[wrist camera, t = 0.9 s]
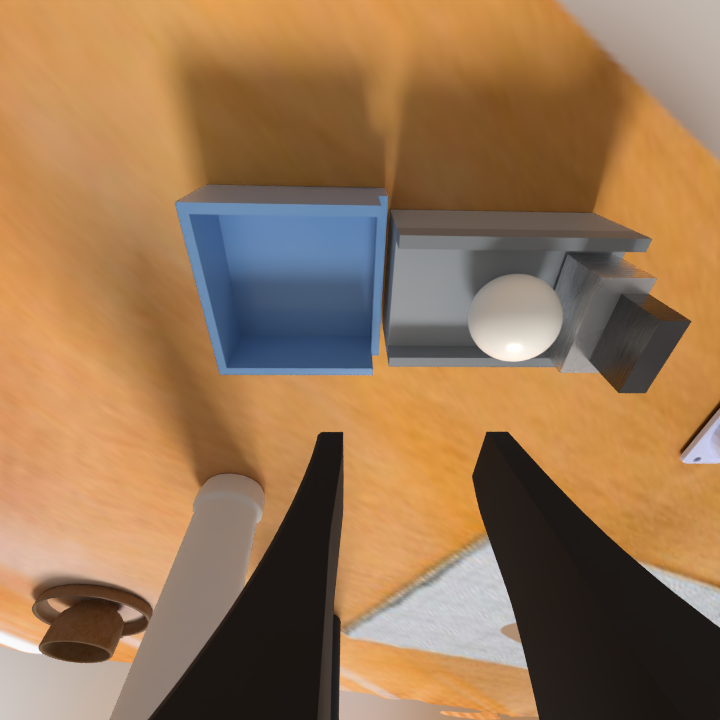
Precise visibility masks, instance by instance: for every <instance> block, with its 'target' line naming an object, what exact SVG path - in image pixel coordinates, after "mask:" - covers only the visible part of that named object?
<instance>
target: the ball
mask: <svg viewBox="0 0 720 720" xmlns="http://www.w3.org/2000/svg"><path fill="white" fill-rule="evenodd" d="M562 322H563V309H562V305H561V302H560V299H559V297H558V295H557V294H556V292H555V291H554V290H553V289H552V287H551V286H550V285H548V284H547V283H546V282H544V281H543V280H541V279H539V278H537V277H534V276H531V275H527V274H509V275H504V276H500V277H498V278H495V279H494V280H492V281H490V282H489V283H487V284H486V285H485V286H483V287H482V288H481V289H480V290H479V291H478V293H477V294H476V295H475V297H474V299H473V300H472V303H471V305H470V308H469V313H468V327H469V331H470V334H471V337H472V338H473V340H474V342H475V343H476V345H477V346H478V347H479V348H480V349H481V350H482V351H483V352H485V353H486V354H488V355H489V356H491V357H493V358H496V359H499V360H503V361H511V362H517V361H524V360H528V359H531V358H533V357H536V356H538V355H539V354H541V353H543V352H544V351H545V350H547V349H548V348H549V347H550V346H551V345H552V343H553V342H554V341H555V340H556V338H557V336H558V334H559V332H560V330H561V326H562Z"/></svg>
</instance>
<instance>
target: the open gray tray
mask: <svg viewBox="0 0 720 720" xmlns="http://www.w3.org/2000/svg"><path fill="white" fill-rule="evenodd" d="M651 240H652V239H651V238H649V237H647V236H644V235H642V234H640V233H638V232H635V231H633V230H631V229H629V228H626V227H624V226H622V225H620V224H617V223H615V222H613V221H611V220H608V219H606V218H604V217H602V216H599V215H597V214H595V213H576V212H516V211H457V210H397V209H390V218H389V233H388V249H387V264H386V279H385V294H384V309H383V330H384V337H385V344H386V350H387V357H388V364H389V367H555V366H554V364H553V363H552V362H551V360H550V359H549V358H548V357H547V355H546V354H545V353H544V352H543V353H541V354H539V355H538V356H536V357H533V358H531V359H528V360H524V361H517V362H511V361H503V360H499V359H496V358H493V357H491V356H489V355H488V354H486V353H485V352H483V351H482V350H481V349H480V348H479V347H478V346H477V345H476V343H475V342H474V340H473V338H472V337H471V334H470V331H469V327H468V313H469V308H470V305H471V303H472V300H473V299H474V297H475V295H476V294H477V293H478V291H479V290H480V289H481V288H482V287H483V286H485V285H486V284H487V283H489V282H490V281H492V280H494V279H495V278H498V277H500V276H504V275H509V274H527V275H531V276H534V277H537V278H539V279H541V280H543V281H544V282H546V283H547V284H548V285H550V286H551V287H552V289H553V290H555V288H556V285H557V282H558V279H559V277H560V274H561V271H562V269H563V266H564V263H565V260H566V258H567V255H616V256H618V257H620V258H623V256H624V254H625V252H646V251H647V249H648V247H649V245H650V243H651Z"/></svg>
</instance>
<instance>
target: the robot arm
mask: <svg viewBox="0 0 720 720" xmlns="http://www.w3.org/2000/svg"><path fill="white" fill-rule="evenodd" d="M680 459H681V460H682V461H683V462H684V463H720V408H719V410H718V411H717V412H716V413H715V414H714V416H713V417H712V418H711V419H710V421H709V422H708V423H707V424H706V425H705V427H704V428H703V429H702V430H701V431H700V433H699V434H698V435H697V436H696V437H695V439H694V440H693V441H692V442H691V444H690V445H689V446H688V447H687V448H686V450H685V451H684V452H683V453H682V454H681V456H680ZM472 478H473V483H474V488H475V493H476V497H477V502H478V506H479V510H480V514H481V517H482V520H483V522H484V525H485V528H486V531H487V534H488V537H489V540H490V543H491V546H492V549H493V551H494V554H495V557H496V560H497V563H498V566H499V569H500V571H501V574H502V577H503V580H504V583H505V586H506V589H507V592H508V595H509V598H510V601H511V604H512V608H513V611H514V615H515V618H516V622H517V626H518V630H519V634H520V638H521V642H522V646H523V650H524V654H525V658H526V662H527V667H528V671H529V675H530V680H531V684H532V688H533V692H534V697H535V701H536V706H537V711H538V715H539V720H720V628H719V627H718V626H717V625H715V624H714V623H713V622H711V621H710V620H709V619H708V618H706V617H705V616H704V615H702V614H701V613H700V612H699V611H697V610H696V609H695V608H693V607H692V606H691V605H689V604H688V603H687V602H686V601H684V600H683V599H682V598H680V597H679V596H678V595H677V594H675V593H674V592H673V591H672V590H670V589H669V588H668V587H667V586H665V585H664V584H663V583H662V582H660V581H659V580H658V579H657V578H656V577H654V576H653V575H652V574H651V573H650V572H649V571H647V570H646V569H645V568H644V567H643V566H642V565H640V564H639V563H638V562H637V561H636V560H635V559H633V558H632V557H631V556H630V555H629V554H628V553H626V552H625V551H624V550H623V549H622V548H621V547H620V546H618V545H617V544H616V543H615V542H614V541H613V540H612V539H611V538H610V537H609V536H607V535H606V534H605V533H604V532H603V531H602V530H601V529H600V528H599V527H598V526H597V525H596V524H595V523H594V522H593V521H592V520H591V519H590V518H589V517H588V516H586V515H585V514H584V513H583V512H582V511H581V510H580V509H579V508H578V507H577V506H576V505H575V504H574V503H573V502H572V500H571V499H570V498H569V497H568V496H567V495H566V494H565V493H564V492H563V491H562V490H561V489H560V488H559V487H558V486H557V485H556V484H555V483H554V482H553V481H552V480H551V479H550V478H549V476H548V475H547V474H546V473H545V472H544V471H543V470H542V469H541V468H540V467H539V466H538V465H537V463H536V462H535V461H534V460H533V459H532V458H531V457H530V456H529V455H528V454H527V452H526V451H525V450H524V449H523V448H522V447H521V446H520V445H519V444H518V443H517V441H516V440H515V439H514V438H513V437H512V436H511V435H510V434H509V433H508V432H486V436H485V439H484V442H483V445H482V448H481V451H480V454H479V457H478V460H477V463H476V466H475V469H474V472H473V475H472ZM343 479H344V475H343V432H321V433H320V434H319V435H318V437H317V441H316V445H315V448H314V451H313V454H312V457H311V460H310V463H309V465H308V468H307V470H306V473H305V475H304V478H303V480H302V482H301V484H300V487H299V489H298V491H297V493H296V495H295V498H294V500H293V502H292V504H291V506H290V508H289V510H288V512H287V514H286V516H285V518H284V520H283V522H282V524H281V525H280V527H279V529H278V531H277V533H276V535H275V537H274V539H273V540H272V542H271V544H270V546H269V548H268V549H267V551H266V553H265V554H264V556H263V558H262V560H261V561H260V563H259V564H258V566H257V568H256V569H255V571H254V573H253V574H252V576H251V578H250V579H249V581H248V582H247V584H246V585H245V587H244V588H243V590H242V591H241V593H240V595H239V596H238V598H237V599H236V601H235V602H234V604H233V605H232V607H231V608H230V610H229V611H228V613H227V614H226V616H225V617H224V619H223V620H222V622H221V623H220V624H219V626H218V627H217V629H216V630H215V631H214V633H213V634H212V636H211V637H210V638H209V640H208V641H207V642H206V644H205V645H204V647H203V648H202V649H201V651H200V652H199V653H198V655H197V656H196V658H195V659H194V660H193V662H192V663H191V664H190V666H189V667H188V668H187V670H186V671H185V673H184V674H183V675H182V677H181V678H180V679H179V681H178V682H177V683H176V684H175V686H174V687H173V688H172V690H171V691H170V692H169V693H168V695H167V696H166V697H165V699H164V700H163V701H162V702H161V704H160V705H159V706H158V707H157V709H156V710H155V711H154V712H153V714H152V715H151V716H150V717H149V719H148V720H330V716H331V676H332V639H333V610H334V595H335V586H336V576H337V566H338V557H339V547H340V537H341V528H342V518H343Z"/></svg>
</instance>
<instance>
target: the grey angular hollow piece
mask: <svg viewBox="0 0 720 720" xmlns="http://www.w3.org/2000/svg"><path fill="white" fill-rule="evenodd" d="M656 279H657V278H655V277H654V276H652V275H650V274H648V273H647V272H645V271H643V270H641V269H639V268H638V267H636V266H634V265H632V264H631V263H629V262H627V261H625V260H624V259H622V258H620V257H618V256H616V255H567V258H566V260H565V263H564V266H563V269H562V271H561V274H560V277H559V279H558V282H557V285H556V288H555V290H554V291H555V292H556V294H557V295H558V297H559V299H560V302H561V305H562V309H563V322H562V326H561V330H560V332H559V334H558V336H557V338H556V340H555V341H554V342H553V343H552V345H551V346H550V347H549V348H548V349H547V350H545V351H544V353H545V354H546V355H547V357H548V358H549V359H550V360H551V362H552V363H553V364H554V366H555V367H556V368H557V369H558V371H559V372H560V373H601V375H602V376H603V377H604V378H605V379H606V380H607V381H608V382H609V383H610V384H611V385H612V386H613V387H614V388H615V390H616V391H617V392H618V393H646V392H647V390H648V389H649V387H650V385H651V384H652V382H653V381H654V379H655V378H656V376H657V374H658V373H659V371H660V370H661V368H662V367H663V365H664V364H665V362H666V360H667V359H668V357H669V356H670V354H671V353H672V351H673V349H674V348H675V346H676V345H677V343H678V342H679V340H680V338H681V337H682V335H683V334H684V332H685V331H686V329H687V328H688V326H689V324H690V323H691V321H690V320H689V319H687V318H686V317H684V316H682V315H681V314H679V313H678V312H676V311H675V310H673V309H671V308H670V307H668V306H667V305H665V304H664V303H662V302H660V301H659V300H657V299H656V298H654V297H652V296H651V295H649V292H650V291H651V289H652V287H653V285H654V283H655V281H656Z"/></svg>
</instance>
